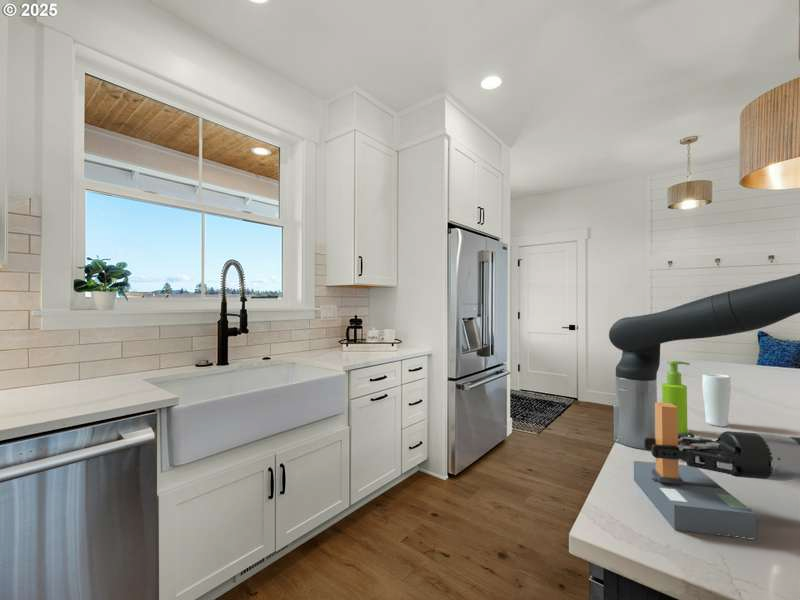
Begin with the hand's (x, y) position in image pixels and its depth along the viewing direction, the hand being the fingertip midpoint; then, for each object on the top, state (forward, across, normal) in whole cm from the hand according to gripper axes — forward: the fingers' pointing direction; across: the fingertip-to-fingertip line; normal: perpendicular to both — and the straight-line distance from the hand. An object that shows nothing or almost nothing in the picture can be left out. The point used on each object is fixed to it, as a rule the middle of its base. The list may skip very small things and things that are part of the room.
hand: (649, 447), depth 70 cm
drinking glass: (-39, -56, +10) cm, 69 cm away
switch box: (-6, 0, +10) cm, 12 cm away
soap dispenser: (-24, -47, +10) cm, 54 cm away
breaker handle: (-3, 0, +6) cm, 6 cm away
